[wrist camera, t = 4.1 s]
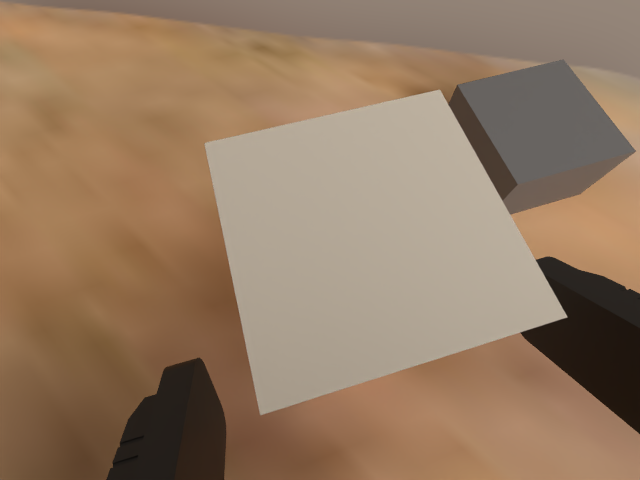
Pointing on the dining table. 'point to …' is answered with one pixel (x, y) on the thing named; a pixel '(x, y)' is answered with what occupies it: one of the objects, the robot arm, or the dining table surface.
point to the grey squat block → (538, 134)
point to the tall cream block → (368, 248)
